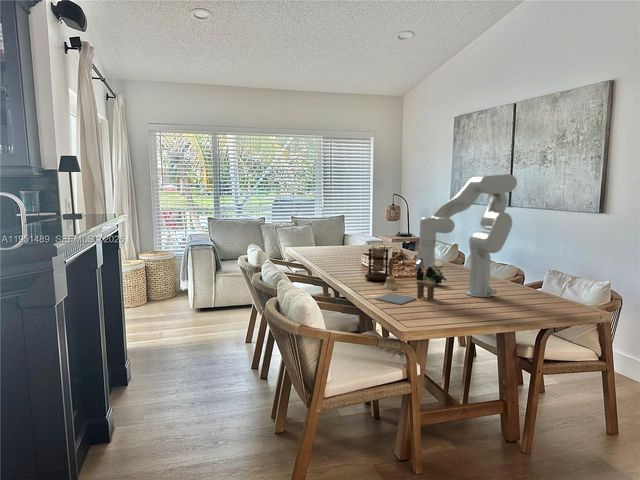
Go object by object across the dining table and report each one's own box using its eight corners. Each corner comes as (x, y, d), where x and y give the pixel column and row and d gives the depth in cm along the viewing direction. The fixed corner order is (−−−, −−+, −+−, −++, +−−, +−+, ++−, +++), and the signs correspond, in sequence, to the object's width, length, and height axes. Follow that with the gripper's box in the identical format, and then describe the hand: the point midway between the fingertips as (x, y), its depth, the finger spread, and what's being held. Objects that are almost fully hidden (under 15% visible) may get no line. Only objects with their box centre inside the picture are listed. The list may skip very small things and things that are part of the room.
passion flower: (436, 293, 231) (450, 277, 228) (431, 294, 221) (446, 277, 219) (420, 280, 236) (434, 264, 233) (415, 280, 226) (429, 263, 223)
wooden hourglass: (390, 277, 247) (391, 244, 245) (391, 283, 232) (392, 247, 230) (365, 276, 249) (366, 243, 247) (364, 282, 234) (365, 246, 232)
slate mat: (416, 299, 198) (416, 298, 198) (401, 305, 187) (401, 303, 187) (391, 294, 207) (391, 293, 207) (375, 299, 197) (375, 298, 197)
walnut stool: (434, 298, 200) (435, 282, 199) (429, 300, 196) (430, 283, 195) (421, 295, 204) (421, 279, 203) (416, 297, 201) (416, 281, 200)
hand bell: (398, 289, 216) (399, 259, 214) (382, 289, 218) (382, 258, 216) (398, 286, 224) (399, 257, 223) (382, 285, 226) (383, 256, 224)
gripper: (428, 241, 206) (426, 275, 208) (410, 243, 193) (408, 280, 195) (442, 243, 201) (440, 278, 203) (425, 245, 188) (423, 282, 190)
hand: (424, 279), depth 199 cm, fingers open, 9 cm apart
